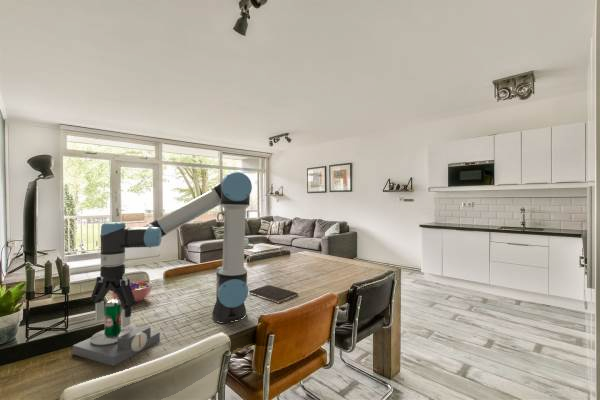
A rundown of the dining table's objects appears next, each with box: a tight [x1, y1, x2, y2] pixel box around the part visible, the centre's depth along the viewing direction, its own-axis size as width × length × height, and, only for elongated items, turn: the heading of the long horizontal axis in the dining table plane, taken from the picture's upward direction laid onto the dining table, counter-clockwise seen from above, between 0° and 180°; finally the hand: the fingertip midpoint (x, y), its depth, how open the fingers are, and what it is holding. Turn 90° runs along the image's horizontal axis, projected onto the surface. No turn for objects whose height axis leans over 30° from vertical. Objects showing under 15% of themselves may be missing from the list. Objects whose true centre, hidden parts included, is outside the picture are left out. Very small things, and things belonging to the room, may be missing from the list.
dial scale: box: [72, 323, 161, 367], centre depth 102 cm, size 21×18×7 cm
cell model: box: [108, 281, 153, 305], centre depth 146 cm, size 17×20×11 cm
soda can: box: [103, 299, 122, 337], centre depth 103 cm, size 5×5×12 cm
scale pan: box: [90, 326, 133, 346], centre depth 103 cm, size 13×13×1 cm
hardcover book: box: [248, 284, 299, 303], centre depth 159 cm, size 16×23×2 cm
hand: (112, 322), depth 103 cm, fingers open, 13 cm apart
